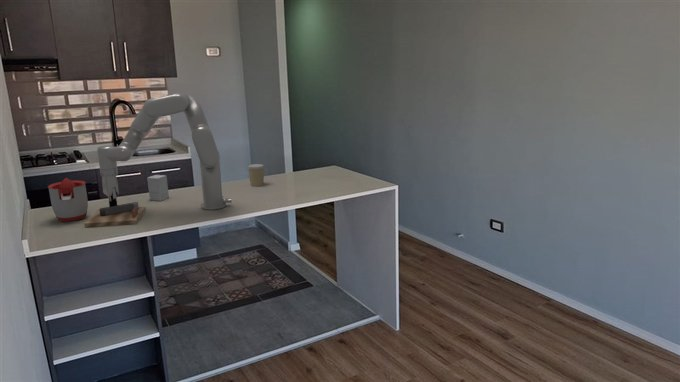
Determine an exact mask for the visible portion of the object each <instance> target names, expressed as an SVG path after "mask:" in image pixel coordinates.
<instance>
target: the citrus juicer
mask: <svg viewBox="0 0 680 382" xmlns="http://www.w3.org/2000/svg"><path fill="white" fill-rule="evenodd" d="M47 188H48V192H49V199H50V203H51V208H52V210H53V213H54V215H55V217H56V219H57V220H58V221H59V222H61V223H66V222H73V221H74V222H76V221H80V220H81V221H82V220H83V219H85V218H86V217H87V213H88V208H89V207H88V206H89V200H88V194H87V187H86V181H84V180H71V179H69V178H68V177H65V178H64V179H62V181H59V182H55V183H51V184H49V185H47Z"/></svg>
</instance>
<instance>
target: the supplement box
mask: <svg viewBox="0 0 680 382" xmlns="http://www.w3.org/2000/svg"><path fill="white" fill-rule="evenodd" d="M146 180H147V187H148V196H149V201H157V202H161V201H164V200H167V199H169V198H170V195H169V187H168V186H169V184H168V178H167V175H164V174H163V175H162V174H161V175H160V174H154V175H151V176H148V177H147V178H146Z"/></svg>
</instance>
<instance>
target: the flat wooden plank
mask: <svg viewBox="0 0 680 382" xmlns="http://www.w3.org/2000/svg"><path fill="white" fill-rule="evenodd" d="M99 209H100V208H99ZM99 209H98V210H96V211H95V212H94V213H93V214H92V215H91V216H89V218H88V219H87V220H86V221H85V222H84V223H83V224H84V228H86V229H87V228H97V227H98V228H99V227H100V228H101V227H113V226H114V227H115V226H116V227H117V226H128V225H137V224H138V222H140V220H141V218H142V217H143V216H144V214H145V212H147V207H146V206H139V209H137V207H134V209H133V210H130V211H125V212H120V213H115V214H110V215H105V216H100V210H99Z"/></svg>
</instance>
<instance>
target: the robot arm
mask: <svg viewBox="0 0 680 382" xmlns="http://www.w3.org/2000/svg"><path fill="white" fill-rule="evenodd" d="M179 113H184V115H185V117H186V120H187V122H188V125H189V128H190V131H191V140H192V142H193V145H194V148H195V151H196V154H197V157H198V159H199V166H200V167H199V169H200V176H201V177H200V178H201V191H202V200H203V203H201V204H200V209H202V210H205V211H207V210H208V211H210V210H212V211H214V210H219V209H223V208H225V207H226V206H227V203H229V204H230V203H232V201H233V200H232V198H230V197H228V198H225V197H224V196H223V189H222V176H221V175H222V174H221V164H220V161H221V157H220V156H221V155H220V152H219V150H218V147H217V144H216V141H215V139H214V135H213V132H212V129H211V128H210V126H209V123H208V120H207V118H206V116H205V112H204V110H203V107H202V105H201V104H200V102H199V101H198V100H197V99H196V98H195V97H193V96H192V95H191V94H188V93H185V92H184V93H183V92H174V93H172V94H170V95H167V96H162V97H157V98H155V97H154V98H153V97H151V98H148V99H147V100H146V101H144V103H143V106H141V109H140V110H139V111H138V113H137V115H136V117H135V118H134V119H133V121H132V122H131V124H130V127H129V130H128V131H127V132H126V135H125V136H124V138H123V139H122V141H121V143H120V144H119V145H118V146H114V145H110V144H108V145H101V146H100V145H99V146H98V147H97V148H96V149H97V150H96V151H97V158H98V159H97V160H98V166H99V173H100V176H101V180H102V181H101V182H102V192H103V194H104V195H105V196H107V198H108V205H109V206H108V207H111V206H116V205H118V200H117V199H118V198H117V196H119V194H120V192H119V191H120V190H119V183H118V178H117V176H118V175H119V171H118V170H119V169H118V164H117V162H128V161H129V160H131V159H132V157H133V156H134V154H135V153H136V150H137V149H138V147H140V145H141V143H142V142H143V140H144V139H145V138H146V137H147V136H148V134H149V133H150V132H151V130H152V129H153V127H154V126H155V124H156V123H157V121H158V120H159V118H160V117H161V118H162V117H165V116H166V117H167V116H171V115H175V114H179Z"/></svg>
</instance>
